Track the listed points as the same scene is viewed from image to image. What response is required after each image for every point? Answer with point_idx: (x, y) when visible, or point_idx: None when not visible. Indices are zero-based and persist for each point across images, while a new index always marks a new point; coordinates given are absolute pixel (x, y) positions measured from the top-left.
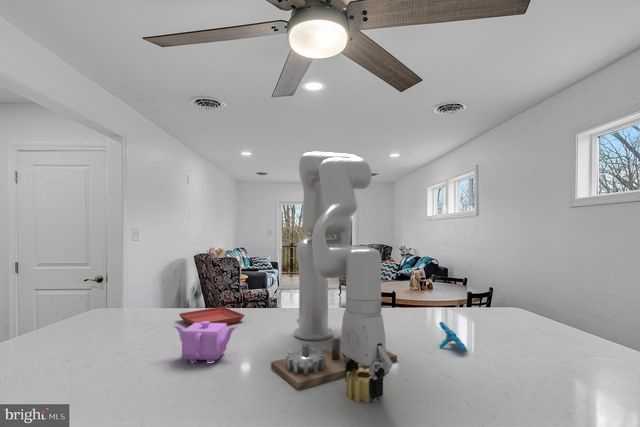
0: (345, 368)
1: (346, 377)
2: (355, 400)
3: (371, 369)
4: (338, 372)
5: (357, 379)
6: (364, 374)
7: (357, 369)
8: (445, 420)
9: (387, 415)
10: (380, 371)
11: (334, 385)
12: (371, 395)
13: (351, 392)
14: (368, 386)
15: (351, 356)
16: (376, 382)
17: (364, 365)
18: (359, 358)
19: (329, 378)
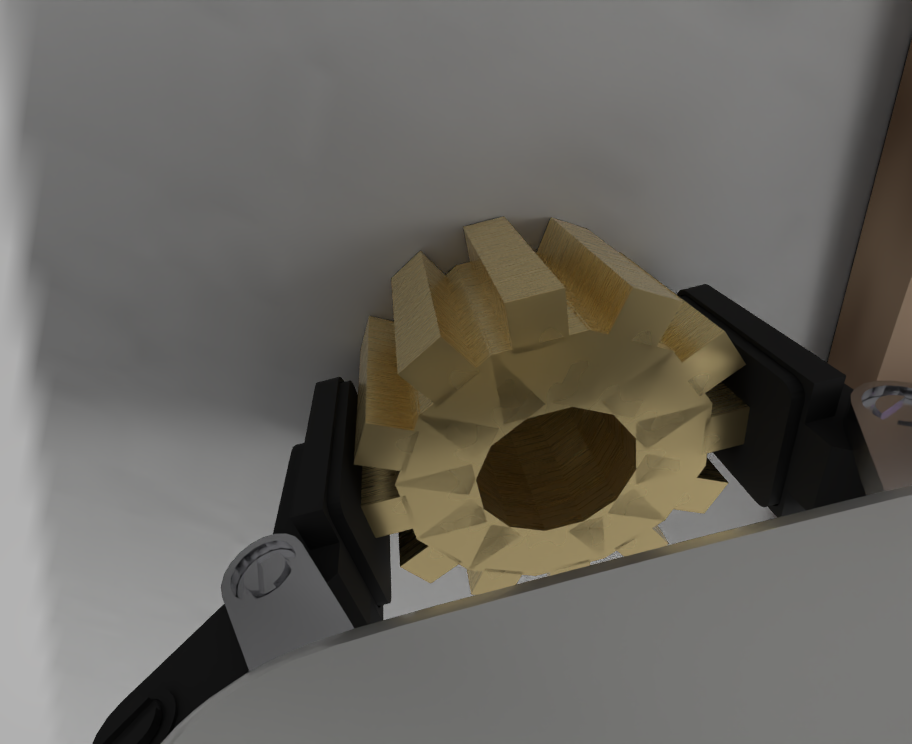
0: (900, 377)
1: (638, 281)
2: (419, 253)
3: (291, 646)
4: (899, 292)
5: (475, 378)
6: (603, 480)
7: (703, 460)
8: (60, 641)
9: (131, 399)
10: (127, 731)
11: (775, 179)
12: (316, 398)
13: (474, 250)
14: (356, 430)
15: (763, 586)
16: (276, 532)
17: (306, 647)
18: (450, 730)
19: (900, 170)
